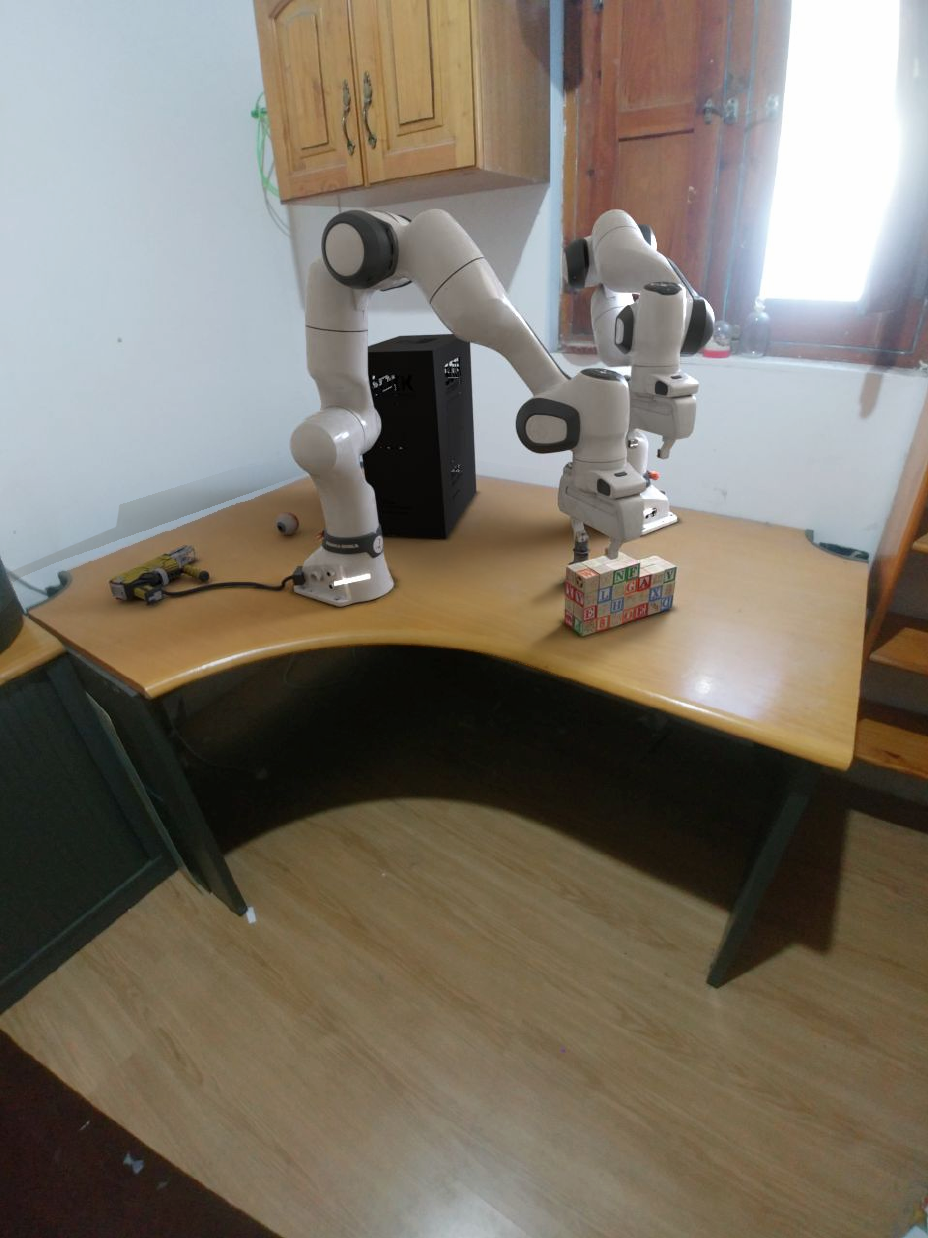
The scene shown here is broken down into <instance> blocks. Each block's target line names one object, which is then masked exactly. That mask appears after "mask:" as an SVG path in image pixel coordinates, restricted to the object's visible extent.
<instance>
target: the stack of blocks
mask: <svg viewBox="0 0 928 1238" xmlns="http://www.w3.org/2000/svg"><path fill="white" fill-rule="evenodd" d="M677 568H678V566H677V565H675V564H673V563H671V562H669V561H667V560H665V559H663V558H662V557H659V556H658V555H653V556H649V557H645V558H641V559H635V558H633V557H631V556H630V555H627V554H625V553H623V552H621V551H619V552H618V558H616V559H613V560H610V559H609V558H607V557H605V555H602V556H598V557H595V558H591V559H588V560H587V561H584V562H581V563H575V564H572V565H568V566H567V565H566V567H565V581H564V618H563V622H564V624H566V625H567V626H568V627H569V628H571V629H573V630H574V631H575V632H576V633H577V634H579V635H580V636H581V637H585V636H588V635H590V634H594V633H598V632H602V631H604V630H607V629H610V628H614V627H617V626H620V625H622V624H626V623H629V622H632V621H634V620H637V619H641V618H644V617H647V616H651V615H654V614H657V613H660V612H663V611H666V610H669V609H672V608H673V602H674V595H675V590H676V589H675V588H676V578H677Z"/></svg>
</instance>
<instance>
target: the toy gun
mask: <svg viewBox="0 0 928 1238" xmlns="http://www.w3.org/2000/svg"><path fill="white" fill-rule="evenodd" d="M191 553H193V556H190V554H191ZM196 560H197V556H196V551H195V547H194V546H192V545H189V546H188V545H187V544H184V545H182V546H180V547H177V548H176V549H174V550H171V551H170V552H168V553H163V554H161V555H159V556H157V557H155V558H153V559H151V560H149V561H147V562H145V563H142V564H139V565H138V566H136V567H133V568H132V569H129V570H128V571H125V572H123V573H121V574H119V575H117V576H115V577H113V578H111V579H110V580H108V583H109V587H110V591H111V594H112V597H113V598H115V600H117V601H118V600H119V601H120V602H121V601H122V602H123V601H125V600H126V601H131V600H135V599H143V600H144V601H145V605H146V607H150V606H153V605H155V604H157V603H159V602H162V601H164V600H165V595H164V594H163V590H164V589H163V588H164V587H166V586H168V585H169V581H171V580H173V579H175V578H178V577H181V575H182V574H184V575H185V576H189V577H191V578H194V579H196V580H199V581H200V582H202V583H205V582H207V581H209V580H210V573H209V572H208V571H207V570H202V569H200V568H198V567H195V566H192V565H191V564H190V563H192V562H193V561H196ZM162 589H163V590H162Z"/></svg>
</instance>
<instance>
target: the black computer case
mask: <svg viewBox="0 0 928 1238" xmlns="http://www.w3.org/2000/svg"><path fill="white" fill-rule="evenodd" d="M471 352H472V351H471V343H470V342H466V341H463V340H460V339H458V338H457V337H456V336H455V335H454V334H453V333H440V334H439V333H437V334H413V335H412V334H410V335H398V336H395V337H392V338H389V339H385V340H383V341H380V342H377V343H373V344H370V345H368V378H369V385H370V390H371V395H372V400H373V405H374V408H375V409H376V411H377V412H378V414H379V416H380V420H381V432H380V434H379V436H378V438H377V440H376V442H375V443H374V445H373V446H372V448H371V449H370V450H368V451H367V452H365V453H364V454H362V455H361V458H362V465H363V475H364V478H365V480H366V482H367V483H368V484H369V485H371V486H372V488H373V490H374V492H375V500H376V507H377V515H378V523H379V524H380V525H381V530H382V537H398V538H399V537H400V538H423V539H424V538H425V539H443V540H444V539H445V540H446V539H447V538H448V537H449V535H450V533H451V532H452V530H453V529H454V528H455V526H456V524H457V523H458V521H459V520H460V518H461V517H462V515H463V514H464V512H465V511H466V509H467V507H468V506H469V505H470V503H471V502H472V500H473V498H474V497H475V495H476V494H477V471H476V470H477V469H476V448H475V446H476V445H475V426H474V424H475V423H474V422H475V421H474V401H473V377H472V355H471ZM450 364H451V365H450Z"/></svg>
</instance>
